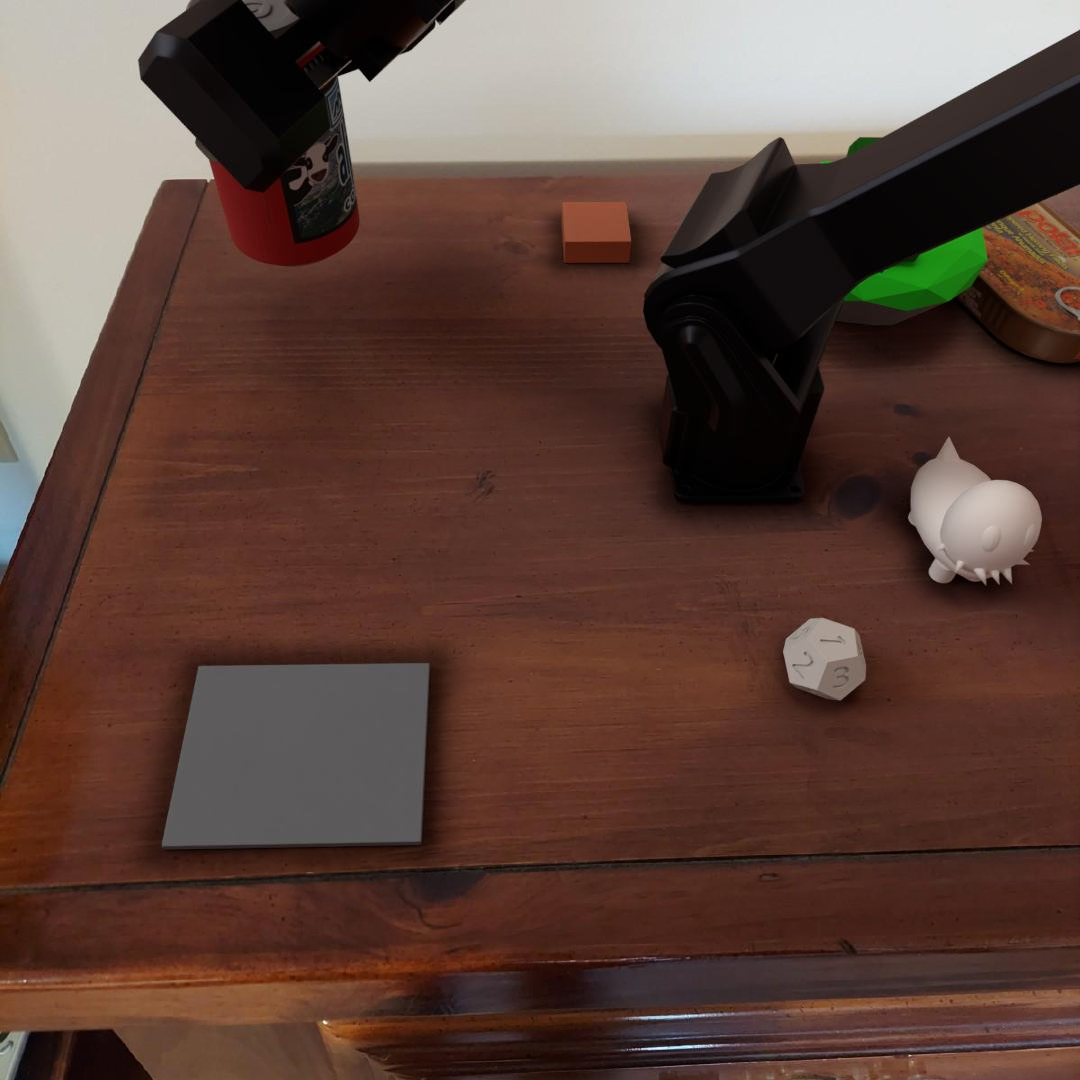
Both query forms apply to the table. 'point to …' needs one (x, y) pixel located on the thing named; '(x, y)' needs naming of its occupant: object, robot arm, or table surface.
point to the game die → (825, 658)
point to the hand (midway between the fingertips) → (248, 114)
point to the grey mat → (302, 757)
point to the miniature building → (914, 278)
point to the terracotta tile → (595, 232)
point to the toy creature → (972, 519)
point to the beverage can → (295, 183)
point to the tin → (1030, 284)
